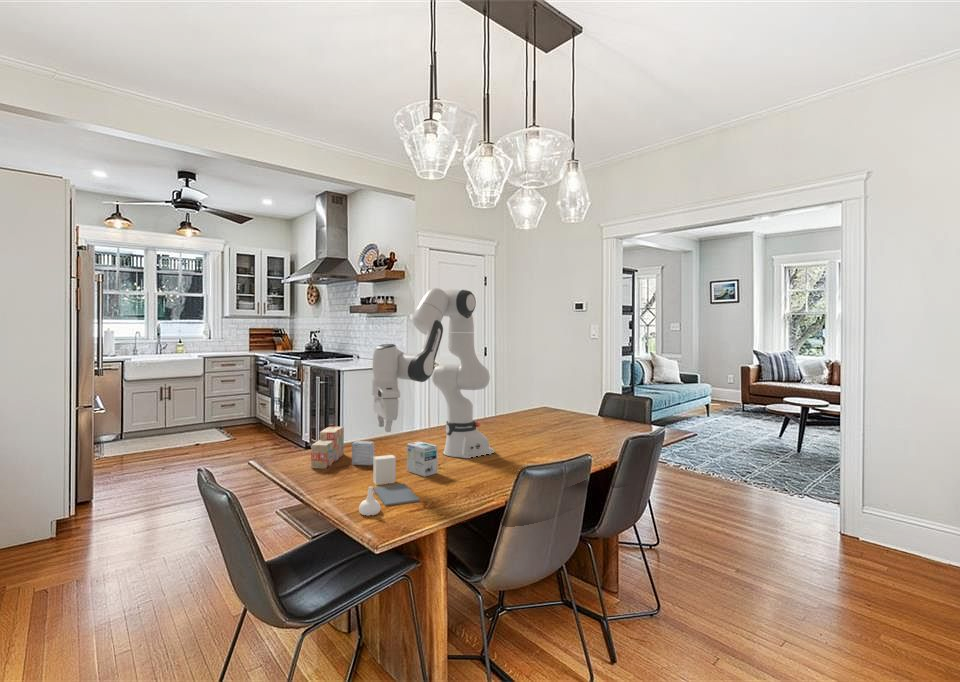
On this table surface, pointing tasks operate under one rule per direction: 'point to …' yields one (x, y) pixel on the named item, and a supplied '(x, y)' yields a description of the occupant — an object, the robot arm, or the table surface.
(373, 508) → the garlic bulb
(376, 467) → the cream block
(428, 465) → the light bulb box
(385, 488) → the rubber mat
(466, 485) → the table surface
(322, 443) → the stack of blocks
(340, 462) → the table surface
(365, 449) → the medicine box
